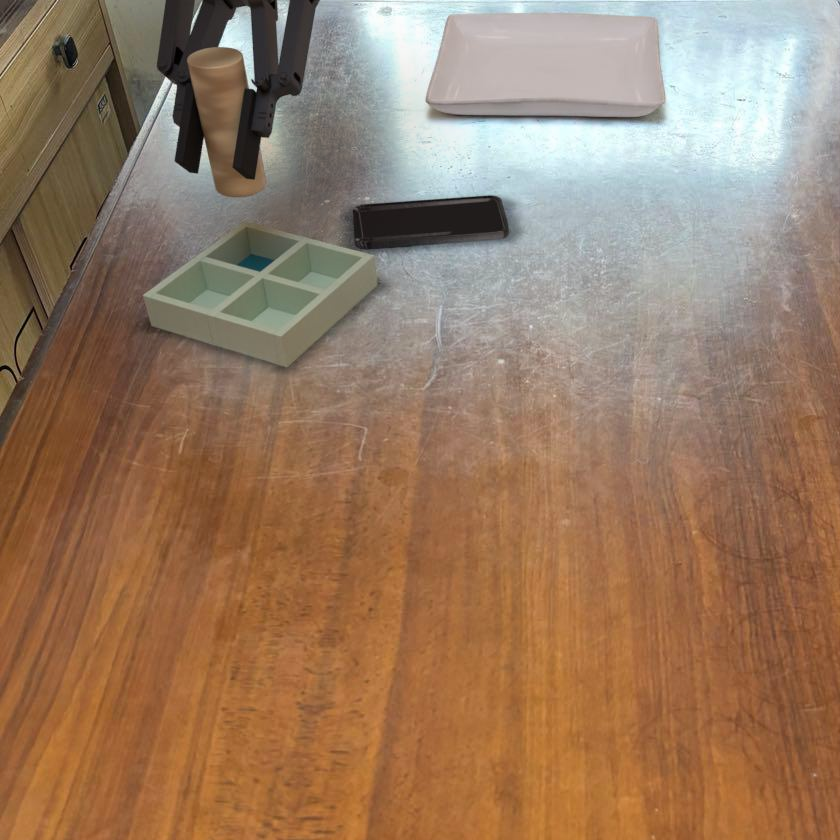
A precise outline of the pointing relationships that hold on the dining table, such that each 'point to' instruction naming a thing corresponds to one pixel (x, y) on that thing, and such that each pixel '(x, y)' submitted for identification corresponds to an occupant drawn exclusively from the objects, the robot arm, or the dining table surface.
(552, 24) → the square plate
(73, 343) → the dining table surface
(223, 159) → the tan wooden cylinder
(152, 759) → the dining table surface
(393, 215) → the phone
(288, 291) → the grid
